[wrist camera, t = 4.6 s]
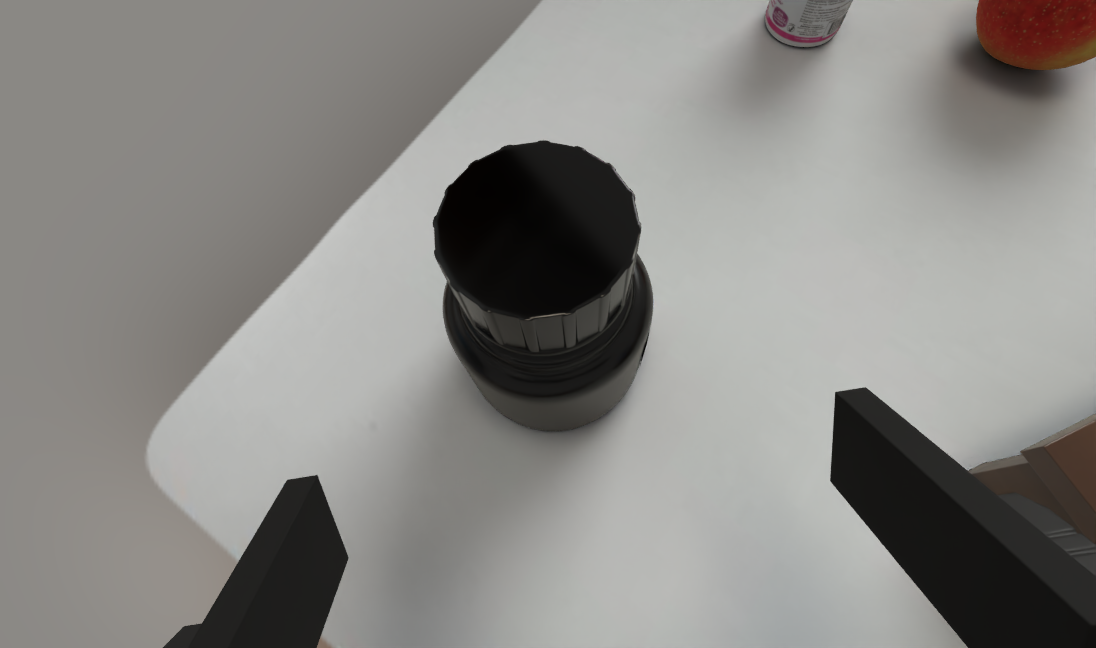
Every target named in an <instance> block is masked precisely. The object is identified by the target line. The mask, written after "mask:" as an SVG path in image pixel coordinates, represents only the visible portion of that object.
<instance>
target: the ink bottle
mask: <svg viewBox="0 0 1096 648" xmlns="http://www.w3.org/2000/svg"><path fill="white" fill-rule="evenodd" d="M433 227H434V234H435V251H434V254H435V258H436V260H437V262H438V264H439V266H440V268H441V270H442V272H443V274H444V276H445V278H446V280H447V283H446V286H445V291H444V296H443V318H444V324H445V328H446V332H447V335H448V338H449V341H450V343H451V345H452V347H453V349H454V351H455V353H456V355H457V357H458V358H459V360H460V361H461V363H462V364H463V366H464V367H465V369H466V370H467V372H468V373H469V375H470V377H471V378H472V380H473V381H474V383H475V384H476V386H477V387H478V389H479V390H480V392H481V393H482V395H483V396H484V397H485V399H486V400H487V401H488V402H489V403H490V404H491V405H492V406H493V407H494V408H495V409H496V410H497V411H499V412H500V413H501V414H503V415H504V416H505V417H507V418H509V419H510V420H512V421H514V422H516V423H518V424H520V425H523V426H526V427H529V428H532V429H536V430H542V431H566V430H571V429H575V428H578V427H581V426H584V425H586V424H589V423H591V422H593V421H595V420H596V419H598V418H600V417H601V416H603V415H604V414H606V413H607V412H608V411H610V410H611V409H612V408H613V407H614V406H615V405H616V404H617V403H618V402H619V401H620V400H621V399H622V397H623V396H624V395H625V394H626V392H627V391H628V389H629V387H630V386H631V384H632V382H633V380H634V378H635V376H636V373H637V370H638V367H639V364H640V365H641V363H640V360H641V361H642V358H643V355H644V351H645V348H646V344H647V340H648V336H649V330H650V325H651V320H652V314H653V292H652V286H651V282H650V278H649V275H648V273H647V270H646V268H645V266H644V264H643V262H642V260H641V258H640V257H639V255H638V254H637V251H638V245H639V240H640V234H641V223H640V222H639V219H638V213H637V209H636V204H635V195H634V193H633V191H632V190H631V189H629V188H628V186H627V185H626V184H625V182H624V181H623V180H622V178H621V177H620V176H619V175H618V173H617V172H616V169H615V168H614V167H613V166H612V165H611V164H610V163H606V162H604V161H602V160H601V159H599V158H597V157H596V156H594V155H592V154H590V153H589V152H587V151H586V150H585V149H584V148H581V147H578V146H575V147H573V146H568V145H562V144H557V143H551V142H549V141H538V142H534V143H526V144H519V145H507V146H504V147H502V148H501V149H500V150H498V151H496V152H494V153H492V154H489V155H487V156H485V157H483V158H481V159H479V160H475V161H474V162H472V163H471V164H470V165H469V166H468V168H467V169H466V170H465V171H464V172H463V173H462V174H461V175H460V176H459V177H458V178H457V179H456V180H455V181H454V182H453V183H452V184H451V185H449V186H448V187H447V189H446V190H445V196H444V198H443V200H442V203H441V205H440V207H439V210H438V213H437V215H436V216H435V217H434V220H433ZM641 357H642V358H641Z"/></svg>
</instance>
